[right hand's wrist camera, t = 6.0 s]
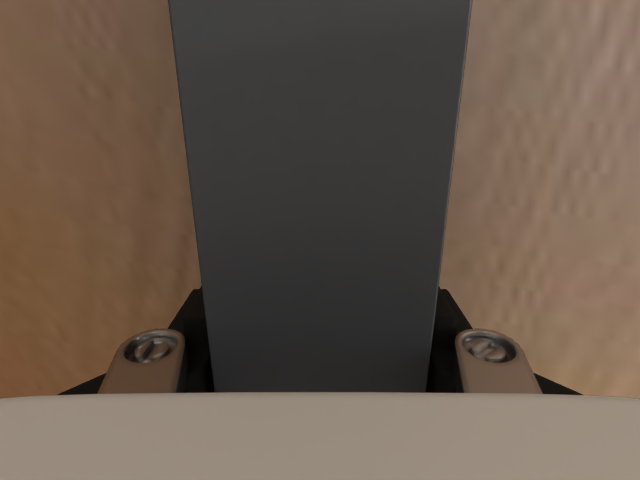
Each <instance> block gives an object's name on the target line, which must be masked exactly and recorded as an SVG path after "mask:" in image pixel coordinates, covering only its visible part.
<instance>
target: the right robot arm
mask: <svg viewBox="0 0 640 480" xmlns="http://www.w3.org/2000/svg"><path fill="white" fill-rule="evenodd" d="M0 480H640V399H639V398H627V397H612V396H592V395H582V394H580V393H578V392H576V391H573V390H571V389H569V388H567V387H564V386H562V385H560V384H558V383H555V382H553V381H551V380H549V379H546V378H544V377H542V376H539V375H537V374H535V373H533V371H532V369H531V367H530V364H529V362H528V360H527V358H526V356H525V353H524V351H523V350H522V348H521V347H520V345H519V344H518V343H516V342H515V341H514V340H513V339H511V338H509V337H507V336H505V335H503V334H501V333H498V332H495V331H491V330H486V329H473V328H472V327H471V325H470V324H469V322H468V321H467V319H466V318H465V316H464V315H463V313H462V311H461V310H460V308H459V307H458V305H457V304H456V302H455V301H454V299H453V298H452V296H451V295H450V293H449V292H448V291H447V290H446V289H440V287H439V286H438V295H437V303H436V312H435V320H434V328H433V337H432V345H431V354H430V362H429V371H428V379H427V387H426V393H401V392H225V393H215V392H214V383H213V375H212V366H211V358H210V349H209V341H208V333H207V324H206V316H205V307H204V299H203V291H202V286H201V288H200V289H194V290H193V291H192V292H191V294H190V295H189V297H188V298H187V300H186V301H185V303H184V304H183V306H182V307H181V309H180V310H179V312H178V313H177V315H176V317H175V318H174V320H173V321H172V323H171V324H170V326H169V327H168V329H154V330H149V331H145V332H142V333H139V334H137V335H135V336H133V337H131V338H129V339H127V340H126V341H125V342H124V343H122V344H121V345H120V347H119V348H118V350H117V351H116V353H115V356H114V358H113V360H112V362H111V364H110V367H109V369H108V371H107V373H105V374H103V375H101V376H99V377H96V378H94V379H92V380H89V381H87V382H85V383H83V384H80V385H78V386H76V387H74V388H71V389H69V390H67V391H65V392H62V393H60V394H58V395H51V396H28V397H14V398H1V399H0Z"/></svg>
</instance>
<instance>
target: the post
mask: <svg viewBox="0 0 640 480" xmlns="http://www.w3.org/2000/svg"><path fill="white" fill-rule="evenodd" d="M168 4H169V13H170V21H171V30H172V38H173V46H174V55H175V63H176V72H177V80H178V89H179V97H180V105H181V114H182V122H183V131H184V139H185V147H186V156H187V164H188V173H189V181H190V190H191V198H192V206H193V215H194V223H195V232H196V240H197V248H198V257H199V265H200V274H201V282H202V291H203V299H204V307H205V316H206V324H207V333H208V341H209V349H210V358H211V366H212V375H213V383H214V392H215V393H225V392H401V393H426V387H427V379H428V371H429V362H430V354H431V345H432V337H433V328H434V320H435V312H436V303H437V295H438V286H439V278H440V269H441V261H442V253H443V244H444V236H445V227H446V219H447V210H448V202H449V194H450V185H451V177H452V168H453V160H454V151H455V143H456V135H457V126H458V118H459V109H460V101H461V92H462V84H463V76H464V67H465V59H466V50H467V42H468V33H469V25H470V17H471V8H472V0H168Z"/></svg>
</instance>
